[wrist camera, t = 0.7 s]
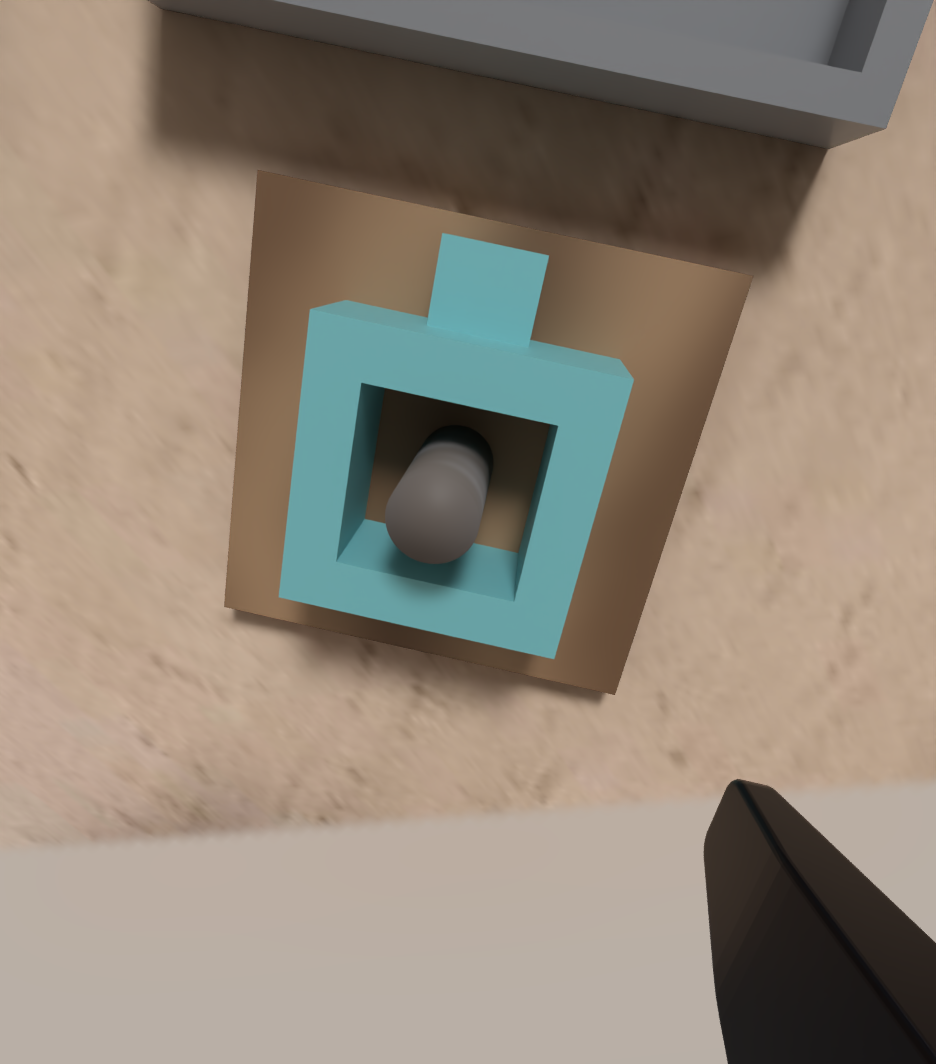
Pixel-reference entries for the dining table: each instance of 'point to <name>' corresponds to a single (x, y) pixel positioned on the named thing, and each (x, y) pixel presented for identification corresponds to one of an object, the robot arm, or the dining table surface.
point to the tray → (641, 51)
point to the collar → (468, 379)
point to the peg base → (474, 412)
